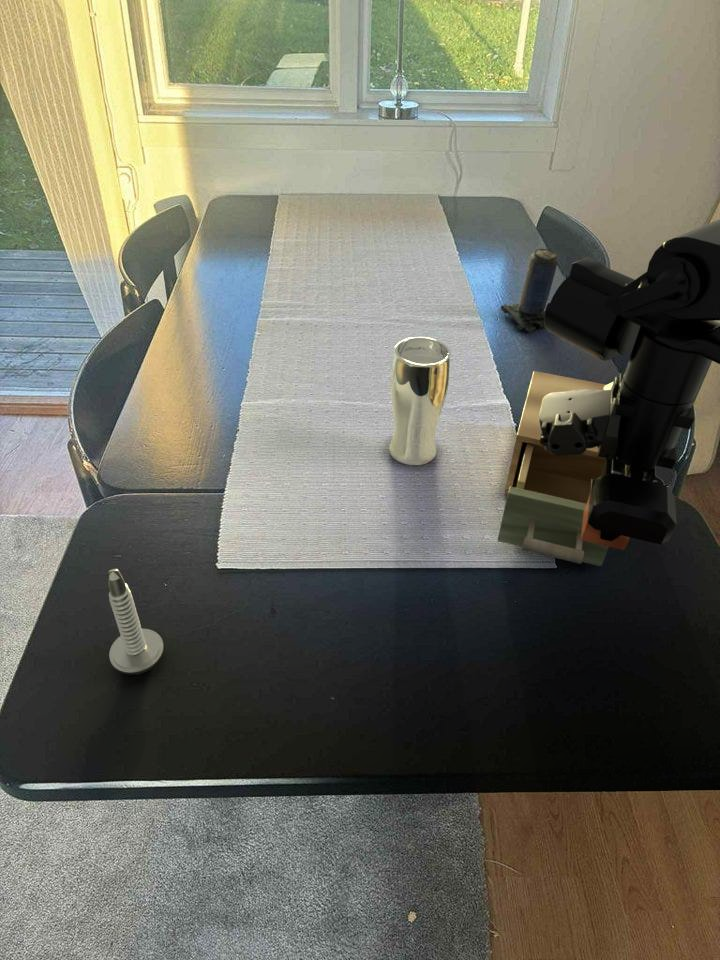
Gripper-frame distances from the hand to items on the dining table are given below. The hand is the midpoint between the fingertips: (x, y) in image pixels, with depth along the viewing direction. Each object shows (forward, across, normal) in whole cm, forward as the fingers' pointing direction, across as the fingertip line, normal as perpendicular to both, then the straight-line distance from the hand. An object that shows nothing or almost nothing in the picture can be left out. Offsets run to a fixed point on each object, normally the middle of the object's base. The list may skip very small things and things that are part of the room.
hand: (606, 523), depth 66 cm
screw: (+12, +21, -39) cm, 46 cm away
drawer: (+11, -9, -4) cm, 15 cm away
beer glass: (+12, -18, -22) cm, 31 cm away
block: (+1, 0, 0) cm, 1 cm away
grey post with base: (+12, -60, -13) cm, 63 cm away
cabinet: (+12, -21, -4) cm, 24 cm away
